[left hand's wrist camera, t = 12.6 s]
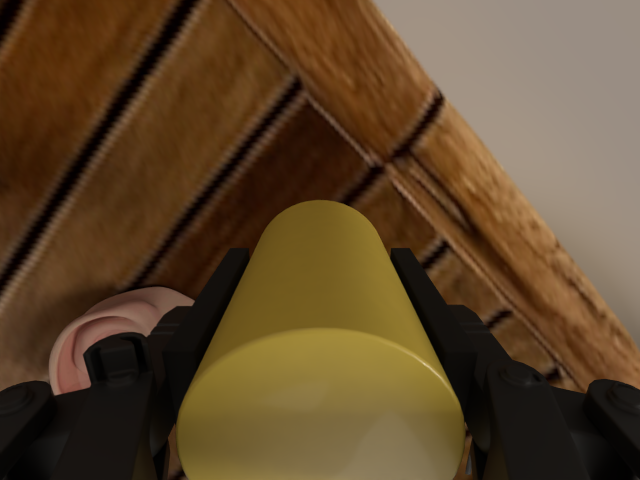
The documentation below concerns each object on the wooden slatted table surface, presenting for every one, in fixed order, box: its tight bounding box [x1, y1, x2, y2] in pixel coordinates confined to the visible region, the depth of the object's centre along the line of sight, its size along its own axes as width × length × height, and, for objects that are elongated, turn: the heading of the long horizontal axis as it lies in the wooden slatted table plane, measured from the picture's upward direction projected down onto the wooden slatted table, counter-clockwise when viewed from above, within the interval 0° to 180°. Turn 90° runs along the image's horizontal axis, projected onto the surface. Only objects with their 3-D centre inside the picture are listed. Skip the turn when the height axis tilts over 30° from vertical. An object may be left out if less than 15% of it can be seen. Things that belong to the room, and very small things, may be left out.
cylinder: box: [176, 200, 465, 480], centre depth 11 cm, size 6×6×10 cm
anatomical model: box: [49, 287, 195, 395], centre depth 29 cm, size 13×4×12 cm
